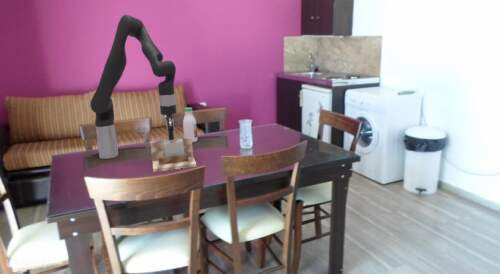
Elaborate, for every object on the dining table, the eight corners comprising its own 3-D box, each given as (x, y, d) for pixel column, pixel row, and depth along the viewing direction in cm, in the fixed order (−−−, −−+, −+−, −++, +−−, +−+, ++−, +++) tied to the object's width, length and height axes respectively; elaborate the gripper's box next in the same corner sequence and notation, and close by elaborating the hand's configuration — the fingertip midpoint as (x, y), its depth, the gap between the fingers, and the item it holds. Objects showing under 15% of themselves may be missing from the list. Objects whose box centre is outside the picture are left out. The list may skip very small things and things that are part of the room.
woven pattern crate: (153, 172, 179) (150, 149, 176) (152, 163, 192) (150, 141, 189) (196, 166, 184) (194, 144, 181) (192, 158, 197) (191, 137, 194)
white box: (166, 158, 187) (162, 132, 183) (165, 155, 191) (161, 130, 188) (184, 155, 189) (181, 129, 185) (183, 152, 193) (180, 127, 190)
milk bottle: (191, 143, 223) (188, 109, 218) (181, 142, 227) (178, 108, 222) (200, 140, 230) (197, 107, 224) (190, 139, 234) (187, 106, 228)
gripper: (159, 102, 189) (162, 136, 193) (160, 107, 176) (164, 143, 180) (174, 101, 190) (178, 135, 195) (177, 105, 178) (180, 141, 182)
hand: (171, 139), depth 188 cm, fingers closed on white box
